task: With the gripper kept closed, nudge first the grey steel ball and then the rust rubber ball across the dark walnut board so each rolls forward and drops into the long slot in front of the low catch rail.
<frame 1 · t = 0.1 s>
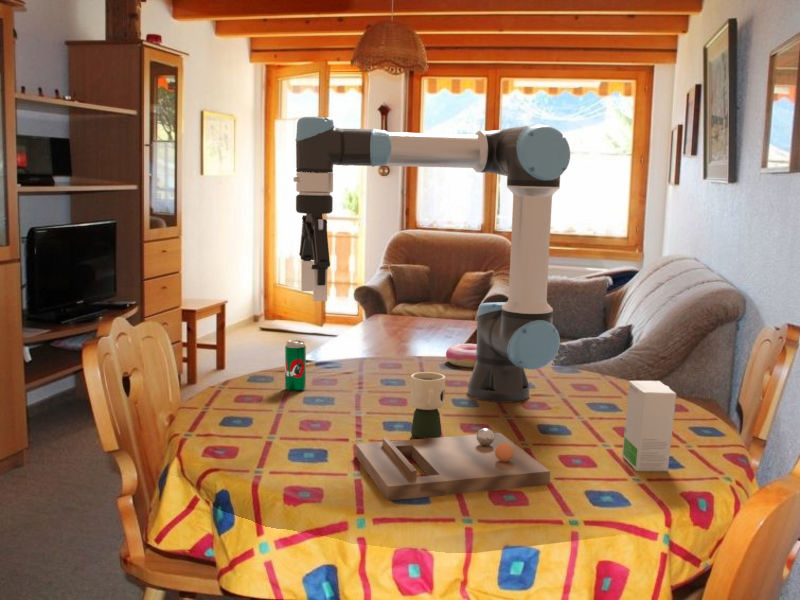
hand: (313, 295, 176), 28 cm above the table, fingers open, 13 cm apart
character mug: (426, 437, 173), on the table
walnut board: (448, 469, 155), on the table
donut: (469, 364, 239), on the table
skincare box: (645, 465, 160), on the table
rust ball: (504, 452, 153), point 4 cm above the table, touching walnut board
steel ball: (485, 436, 161), point 4 cm above the table, touching walnut board
soda can: (295, 390, 207), on the table
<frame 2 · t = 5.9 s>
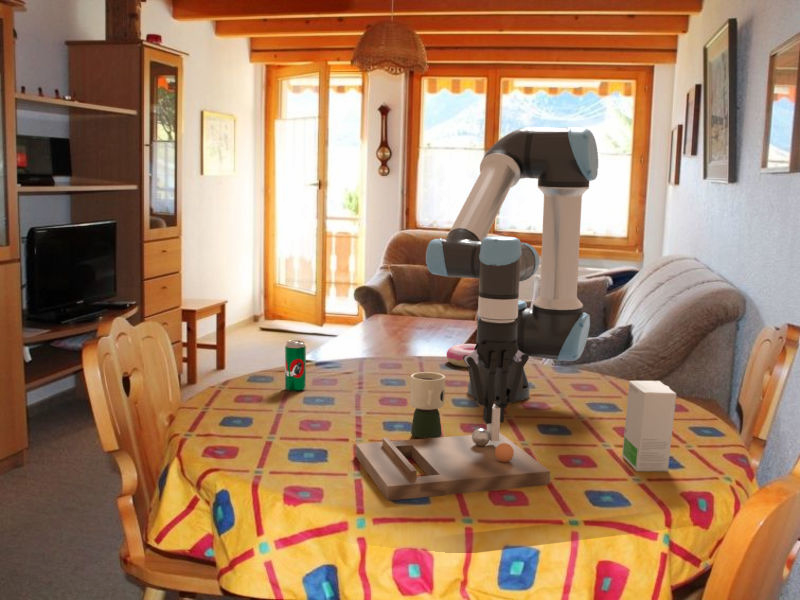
hand: (492, 438, 161), 4 cm above the table, fingers closed
steel ball: (480, 437, 161), point 4 cm above the table, tilted 30°, touching gripper, walnut board
everything else where it was.
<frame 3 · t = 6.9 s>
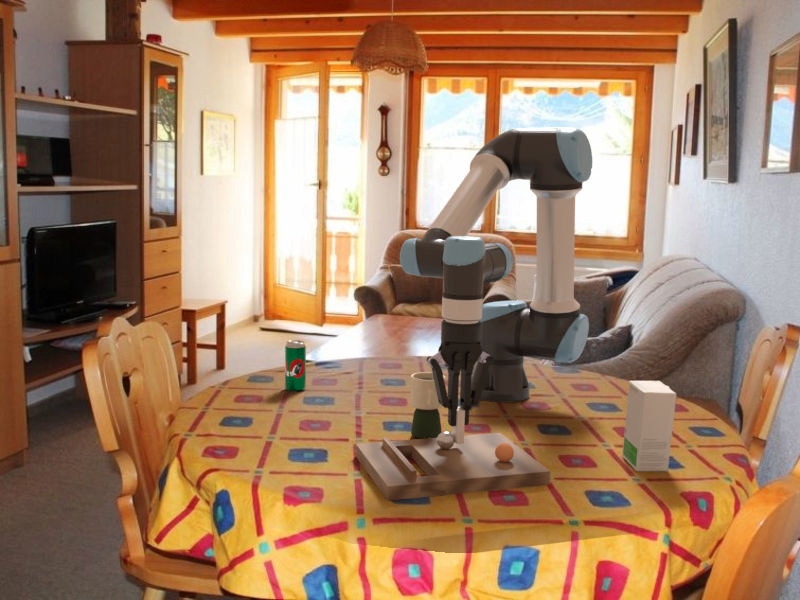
hand: (457, 441, 159), 4 cm above the table, fingers closed
steel ball: (445, 440, 159), point 4 cm above the table, tilted 108°, touching gripper, walnut board
everything else where it was.
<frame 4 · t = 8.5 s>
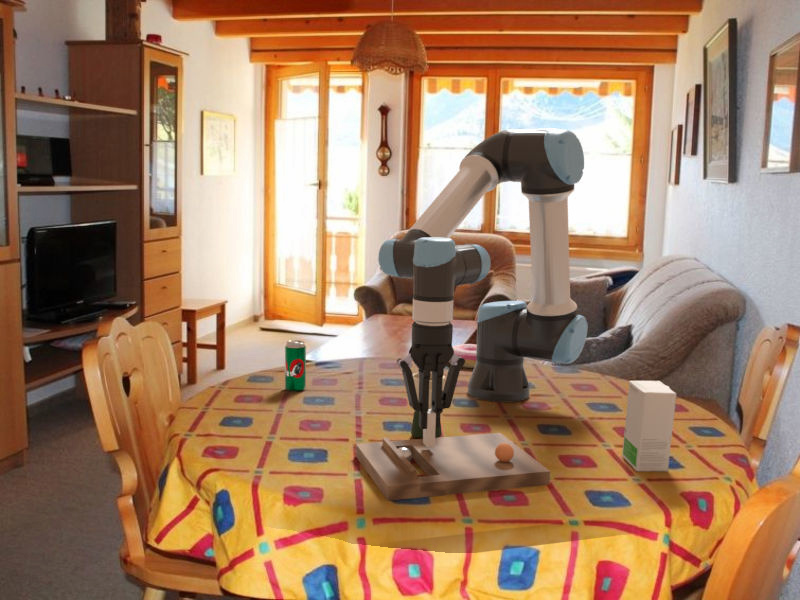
hand: (428, 444, 158), 4 cm above the table, fingers closed
steel ball: (403, 456, 157), point 2 cm above the table, tilted 157°
everything else where it was.
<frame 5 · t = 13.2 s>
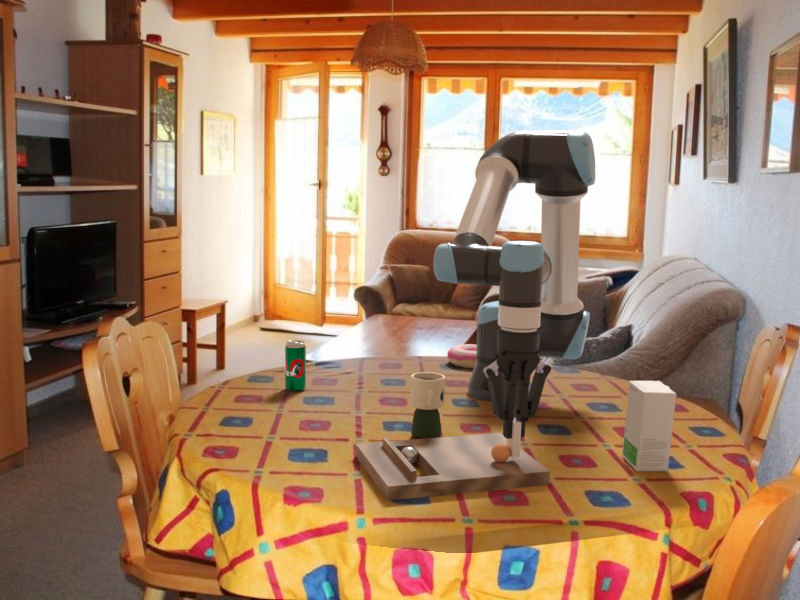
hand: (512, 454, 153), 4 cm above the table, fingers closed
rust ball: (500, 452, 152), point 4 cm above the table, tilted 24°, touching gripper, walnut board
steel ball: (408, 455, 157), point 2 cm above the table, tilted 164°
everything else where it was.
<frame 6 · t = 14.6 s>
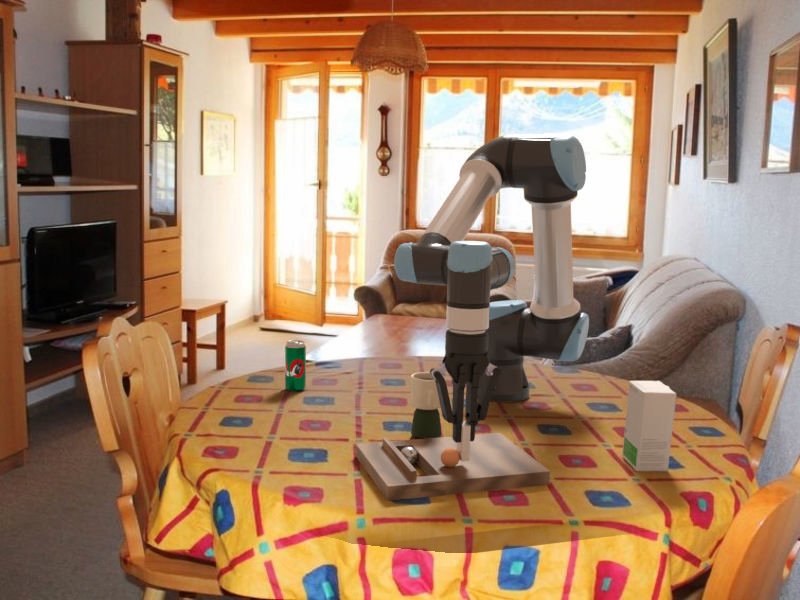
hand: (462, 458, 150), 4 cm above the table, fingers closed
rust ball: (450, 457, 149), point 4 cm above the table, tilted 42°, touching gripper, walnut board
everything else where it was.
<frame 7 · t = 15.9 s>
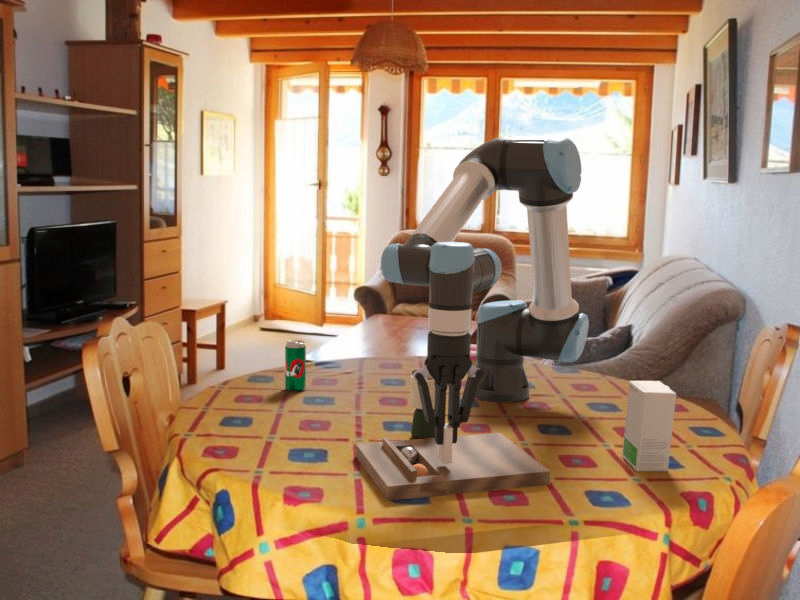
hand: (445, 460, 149), 4 cm above the table, fingers closed
rust ball: (418, 473, 148), point 2 cm above the table, tilted 169°
everything else where it was.
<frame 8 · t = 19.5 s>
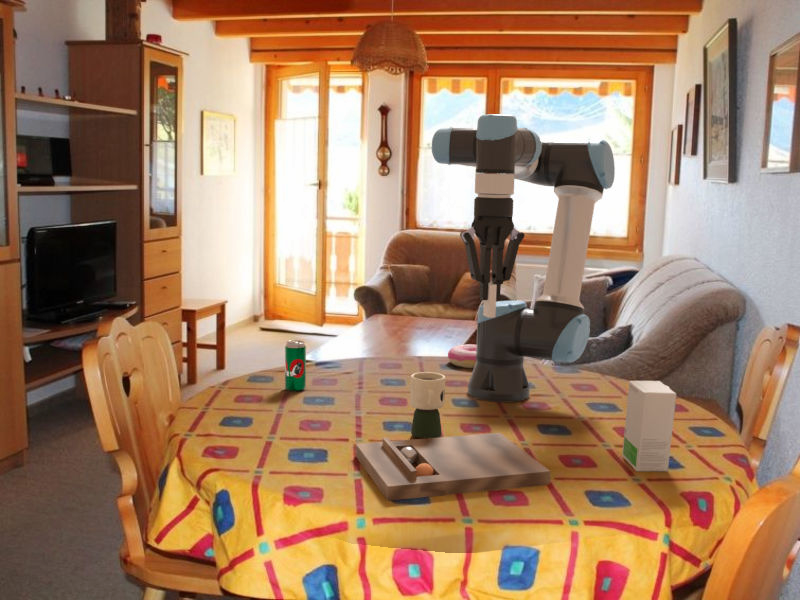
hand: (489, 316, 165), 26 cm above the table, fingers closed
rust ball: (424, 472, 148), point 2 cm above the table, tilted 155°
at the end: steel ball inside the target area on the walnut board (4.4 cm from its centre), point 1.7 cm above the walnut board's base; rust ball inside the target area on the walnut board (4.6 cm from its centre), point 1.7 cm above the walnut board's base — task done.
